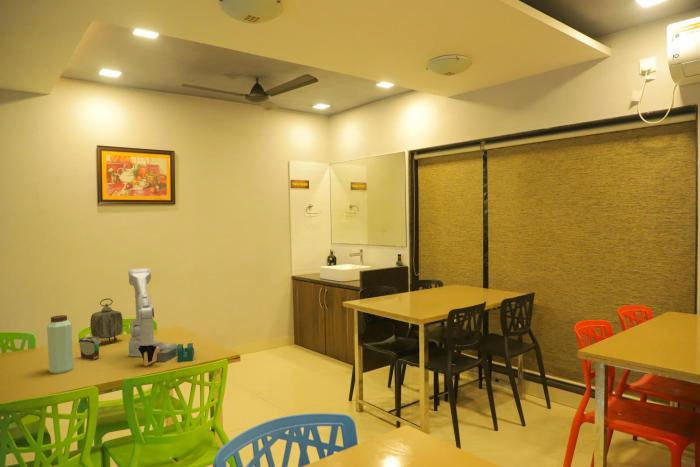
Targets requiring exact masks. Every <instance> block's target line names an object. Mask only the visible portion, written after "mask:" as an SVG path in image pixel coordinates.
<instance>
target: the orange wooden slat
mask: <svg viewBox="0 0 700 467" xmlns="http://www.w3.org/2000/svg"><path fill="white" fill-rule="evenodd" d="M157 352H160V347H157V348H156V349H155V352H154V354H153V359H152V361H151V362H148V355H147V351H146V352H144V360H143V364H144V366H149V365H152V364H154V363H155V362H157Z"/></svg>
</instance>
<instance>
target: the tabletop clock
mask: <svg viewBox="0 0 700 467" xmlns="http://www.w3.org/2000/svg"><path fill="white" fill-rule="evenodd" d="M107 300H109V301H111V303H109V304H108V303H105V304H102V303H103V301H107ZM113 303H114V302H113V299H111V298H104V299H102V300H100V303H99V305H100V306H101V307H103V308H102V309H101V310H100V311H95V312H93V313H92V314H91V317H90V322H89V323H90V325H89V326H90V332H91V337H99V338H100V340H101V339H103V340H105V339H108V344H110V345H111V344H112V343H113V340H114V341H117V336H119V335H120V336H121V334H122V332H123V328H124V327H123V326H124V322H123V321H124V319H123V314H122V312H121V311H119V310H118V311H117V310H114V309H113V308H112V307H111V305H112V304H113ZM111 338H113V340H111Z"/></svg>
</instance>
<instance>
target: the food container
mask: <svg viewBox="0 0 700 467" xmlns="http://www.w3.org/2000/svg"><path fill="white" fill-rule="evenodd" d="M101 342H102V341H101V339H100V338H99V337H93V336H84V337H81V338H78V343H79V352H80V359H82V360H88V361H96V360H98V359H99V356H100V343H101Z"/></svg>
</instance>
